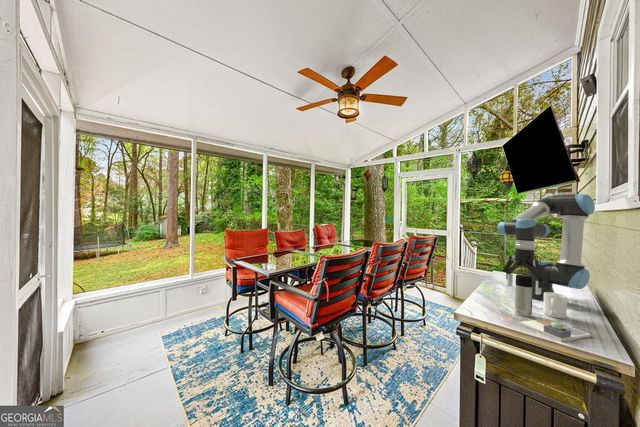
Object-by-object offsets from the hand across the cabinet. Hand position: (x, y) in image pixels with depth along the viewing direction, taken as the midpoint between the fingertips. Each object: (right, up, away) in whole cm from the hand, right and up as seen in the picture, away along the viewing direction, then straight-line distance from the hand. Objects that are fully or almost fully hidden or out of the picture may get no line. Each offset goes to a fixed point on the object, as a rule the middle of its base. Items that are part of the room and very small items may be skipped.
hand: (523, 290), depth 125 cm
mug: (+15, -13, -1) cm, 20 cm away
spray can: (0, -13, 0) cm, 13 cm away
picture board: (-1, -13, -17) cm, 21 cm away
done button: (-5, -10, -22) cm, 25 cm away
